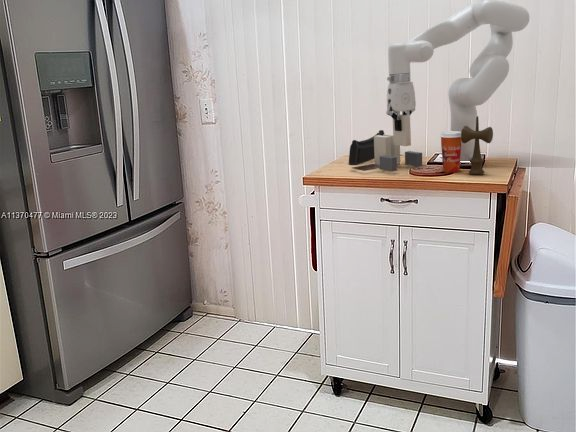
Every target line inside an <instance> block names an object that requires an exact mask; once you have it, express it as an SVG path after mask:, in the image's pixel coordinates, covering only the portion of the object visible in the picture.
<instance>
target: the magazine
mask: <svg viewBox="0 0 576 432" xmlns="http://www.w3.org/2000/svg"><path fill="white" fill-rule="evenodd" d="M384 134H385V131H384V129H380V130H378V132H377V133H376V134H374V135H373V136H372V137H370V138H367V139H363V140H356V139H352V141H351V144H350V146H349V155H348V165H349V166H356V165H360V164H363V163H365V162H368V161H371V160H373V159H374V160H375V157H374V136H377V135H381V136H383V135H384Z"/></svg>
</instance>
